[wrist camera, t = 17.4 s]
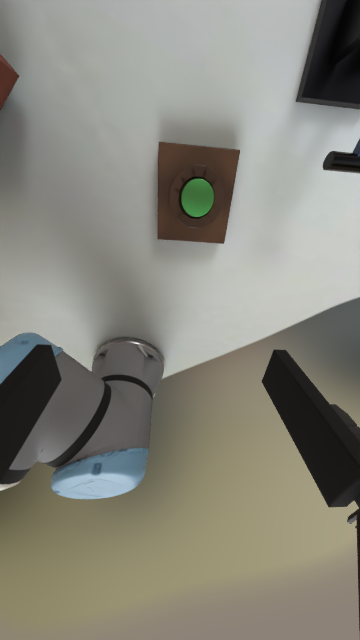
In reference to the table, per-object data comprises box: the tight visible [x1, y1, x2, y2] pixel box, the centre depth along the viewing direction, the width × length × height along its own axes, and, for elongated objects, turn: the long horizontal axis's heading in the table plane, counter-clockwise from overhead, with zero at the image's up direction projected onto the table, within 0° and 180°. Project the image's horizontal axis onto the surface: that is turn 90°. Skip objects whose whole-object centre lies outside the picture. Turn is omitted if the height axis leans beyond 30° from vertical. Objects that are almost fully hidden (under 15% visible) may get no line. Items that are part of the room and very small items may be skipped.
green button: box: [181, 179, 214, 217], centre depth 25 cm, size 4×4×2 cm
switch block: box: [158, 142, 240, 244], centre depth 28 cm, size 11×10×4 cm
